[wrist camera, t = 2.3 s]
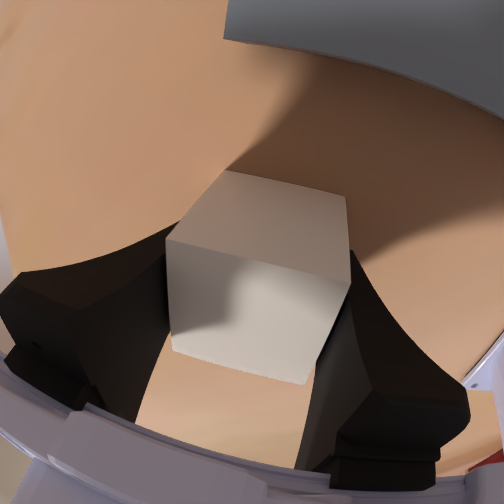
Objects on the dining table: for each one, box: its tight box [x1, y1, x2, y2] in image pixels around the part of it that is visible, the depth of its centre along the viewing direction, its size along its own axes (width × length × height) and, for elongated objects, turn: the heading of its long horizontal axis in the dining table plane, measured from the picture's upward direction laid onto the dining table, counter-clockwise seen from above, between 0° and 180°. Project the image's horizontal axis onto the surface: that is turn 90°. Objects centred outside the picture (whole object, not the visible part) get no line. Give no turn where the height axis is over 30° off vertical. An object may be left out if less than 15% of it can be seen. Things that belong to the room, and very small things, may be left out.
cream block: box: [166, 170, 351, 385], centre depth 11 cm, size 4×4×5 cm
